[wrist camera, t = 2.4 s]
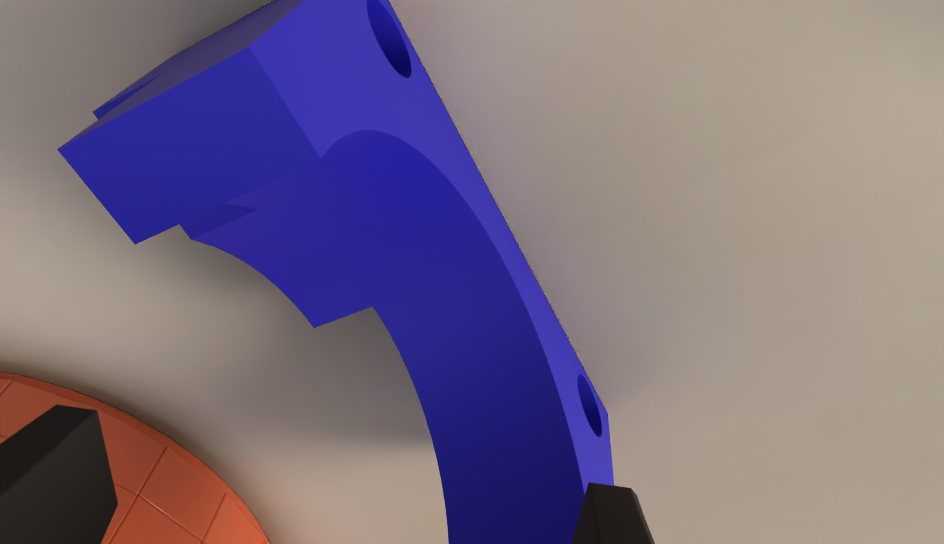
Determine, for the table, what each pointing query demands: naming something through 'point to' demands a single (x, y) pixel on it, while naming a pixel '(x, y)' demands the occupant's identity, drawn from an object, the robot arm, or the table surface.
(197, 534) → the bowl
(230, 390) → the table surface
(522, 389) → the blue bracket
